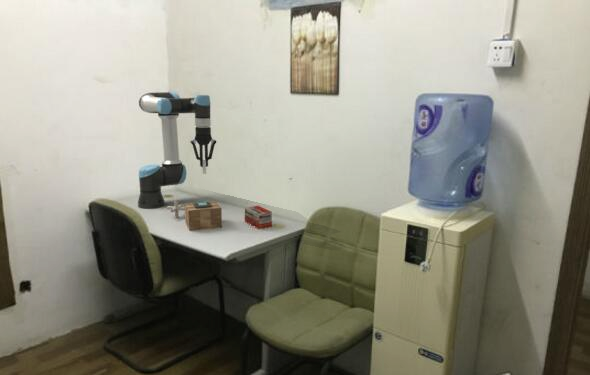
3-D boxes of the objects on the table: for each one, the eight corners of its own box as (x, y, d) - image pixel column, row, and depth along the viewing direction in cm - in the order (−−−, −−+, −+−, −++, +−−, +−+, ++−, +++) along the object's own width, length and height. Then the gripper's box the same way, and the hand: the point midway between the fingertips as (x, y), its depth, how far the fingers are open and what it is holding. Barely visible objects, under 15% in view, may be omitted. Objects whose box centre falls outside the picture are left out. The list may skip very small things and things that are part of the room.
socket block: (185, 222, 234) (184, 203, 231) (216, 219, 239) (215, 201, 237) (189, 230, 221) (188, 210, 219) (221, 227, 226) (221, 208, 224)
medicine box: (244, 222, 236) (244, 207, 234) (258, 219, 241) (257, 205, 239) (258, 229, 224) (258, 214, 222) (272, 227, 228) (272, 211, 226)
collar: (193, 204, 230) (193, 203, 230) (209, 203, 233) (209, 201, 233) (195, 208, 223) (195, 207, 222) (212, 207, 225) (212, 205, 225)
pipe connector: (181, 220, 237) (180, 202, 235) (163, 219, 239) (162, 200, 236) (189, 215, 246) (188, 197, 244) (172, 214, 248) (171, 196, 246)
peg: (198, 218, 230) (197, 203, 229) (206, 217, 232) (205, 202, 230) (199, 220, 227) (199, 205, 225) (207, 219, 228) (207, 204, 226)
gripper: (190, 127, 220) (192, 175, 226) (217, 127, 224) (218, 173, 230) (188, 126, 227) (190, 172, 232) (214, 125, 231) (215, 170, 237)
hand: (204, 173), depth 231 cm, fingers closed
